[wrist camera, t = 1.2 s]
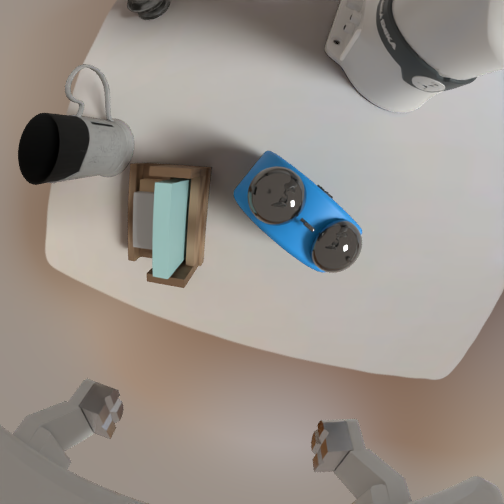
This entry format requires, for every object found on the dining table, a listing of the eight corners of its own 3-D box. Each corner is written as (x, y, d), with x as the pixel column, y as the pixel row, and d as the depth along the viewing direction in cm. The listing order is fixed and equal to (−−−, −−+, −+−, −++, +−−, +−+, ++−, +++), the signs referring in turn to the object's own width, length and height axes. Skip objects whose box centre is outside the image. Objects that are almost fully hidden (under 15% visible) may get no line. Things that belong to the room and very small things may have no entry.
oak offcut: (145, 178, 33) (140, 179, 32) (167, 180, 33) (162, 180, 32) (143, 243, 36) (138, 246, 35) (163, 246, 36) (159, 250, 34)
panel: (181, 177, 33) (154, 182, 25) (194, 178, 33) (171, 183, 25) (176, 251, 36) (152, 276, 28) (189, 253, 36) (167, 279, 28)
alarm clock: (238, 187, 35) (217, 205, 20) (268, 150, 33) (269, 140, 19) (315, 249, 36) (341, 303, 22) (345, 215, 35) (391, 250, 21)
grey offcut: (139, 191, 32) (133, 192, 31) (161, 192, 32) (156, 194, 31) (138, 243, 34) (132, 246, 33) (159, 246, 34) (155, 250, 33)
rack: (142, 163, 34) (109, 165, 26) (211, 167, 34) (194, 169, 26) (139, 252, 38) (110, 274, 30) (203, 261, 38) (186, 288, 30)
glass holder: (80, 166, 34) (9, 176, 20) (112, 80, 30) (47, 55, 16) (122, 185, 35) (52, 202, 21) (159, 92, 31) (100, 60, 17)
